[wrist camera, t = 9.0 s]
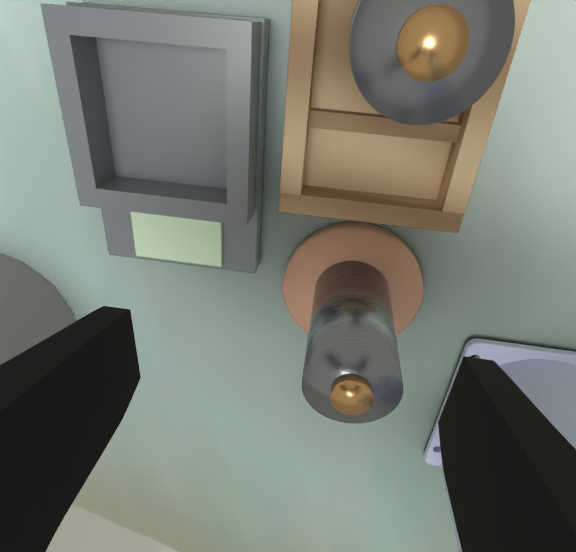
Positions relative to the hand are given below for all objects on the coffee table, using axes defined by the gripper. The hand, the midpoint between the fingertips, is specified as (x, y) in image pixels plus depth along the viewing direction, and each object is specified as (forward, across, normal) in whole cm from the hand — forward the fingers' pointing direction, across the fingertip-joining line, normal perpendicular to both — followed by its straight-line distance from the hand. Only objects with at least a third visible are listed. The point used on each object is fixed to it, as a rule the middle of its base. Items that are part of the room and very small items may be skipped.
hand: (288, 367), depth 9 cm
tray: (+10, -2, -5) cm, 12 cm away
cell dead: (+10, -2, +4) cm, 11 cm away
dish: (+10, -2, +4) cm, 11 cm away
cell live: (+10, -2, -6) cm, 12 cm away
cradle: (+10, +6, -2) cm, 12 cm away
